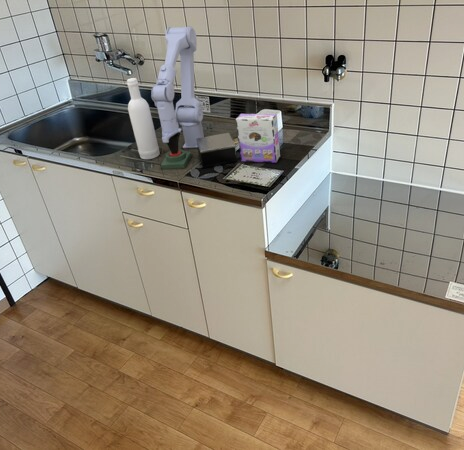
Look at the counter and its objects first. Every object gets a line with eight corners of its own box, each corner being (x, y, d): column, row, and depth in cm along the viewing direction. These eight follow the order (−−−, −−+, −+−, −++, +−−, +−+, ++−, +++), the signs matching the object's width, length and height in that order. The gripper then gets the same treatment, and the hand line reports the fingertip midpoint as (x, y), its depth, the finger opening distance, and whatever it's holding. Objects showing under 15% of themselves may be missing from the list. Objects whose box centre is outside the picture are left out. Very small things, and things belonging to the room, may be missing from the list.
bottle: (141, 152, 188) (122, 77, 172) (160, 149, 188) (143, 74, 172) (139, 160, 181) (119, 83, 165) (159, 158, 182) (141, 80, 165)
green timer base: (169, 156, 182) (167, 147, 180) (191, 155, 181) (190, 146, 179) (161, 169, 173) (159, 160, 171) (184, 168, 172) (183, 159, 170)
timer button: (171, 154, 178) (171, 150, 177) (183, 154, 177) (182, 150, 176) (168, 159, 174) (167, 155, 173) (180, 159, 174) (179, 155, 173)
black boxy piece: (237, 162, 171) (234, 146, 168) (203, 168, 170) (200, 152, 166) (231, 149, 181) (229, 134, 178) (199, 155, 180) (196, 140, 176)
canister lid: (235, 147, 167) (235, 145, 167) (200, 153, 166) (200, 151, 165) (229, 134, 178) (228, 132, 178) (196, 140, 176) (196, 138, 176)
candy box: (280, 156, 172) (277, 113, 163) (276, 163, 167) (272, 119, 158) (245, 154, 176) (240, 112, 167) (240, 161, 172) (234, 118, 163)
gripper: (173, 125, 161) (180, 161, 168) (183, 110, 173) (190, 144, 180) (153, 126, 162) (161, 161, 169) (165, 111, 174) (172, 145, 181)
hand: (175, 152), depth 175 cm, fingers closed, pressing on timer button
